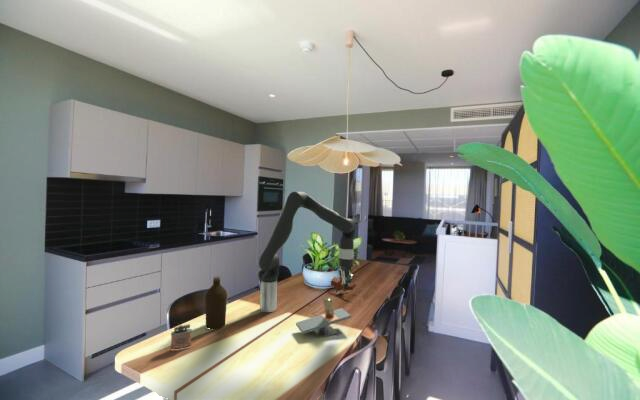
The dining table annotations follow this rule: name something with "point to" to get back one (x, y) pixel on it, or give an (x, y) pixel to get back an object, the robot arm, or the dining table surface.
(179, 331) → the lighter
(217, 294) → the olive oil
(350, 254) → the robot arm
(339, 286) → the decorative bird
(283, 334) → the dining table surface
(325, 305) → the ball
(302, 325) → the seesaw board
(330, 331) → the pivot stand
